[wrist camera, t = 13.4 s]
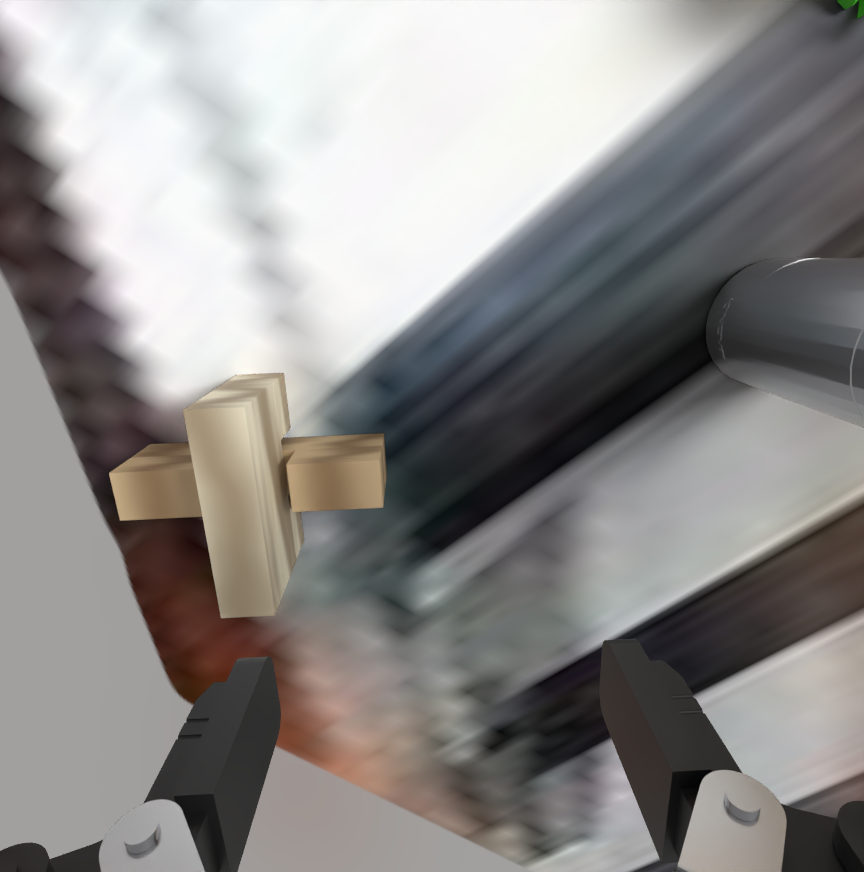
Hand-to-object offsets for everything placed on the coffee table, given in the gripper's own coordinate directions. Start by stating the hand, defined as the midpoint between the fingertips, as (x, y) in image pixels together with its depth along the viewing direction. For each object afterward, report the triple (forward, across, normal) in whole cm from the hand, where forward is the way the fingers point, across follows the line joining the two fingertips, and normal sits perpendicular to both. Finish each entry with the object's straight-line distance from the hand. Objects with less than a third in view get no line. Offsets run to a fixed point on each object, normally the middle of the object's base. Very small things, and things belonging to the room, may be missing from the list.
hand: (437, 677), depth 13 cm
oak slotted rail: (+30, +12, +5) cm, 32 cm away
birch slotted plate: (+30, +12, +5) cm, 32 cm away
